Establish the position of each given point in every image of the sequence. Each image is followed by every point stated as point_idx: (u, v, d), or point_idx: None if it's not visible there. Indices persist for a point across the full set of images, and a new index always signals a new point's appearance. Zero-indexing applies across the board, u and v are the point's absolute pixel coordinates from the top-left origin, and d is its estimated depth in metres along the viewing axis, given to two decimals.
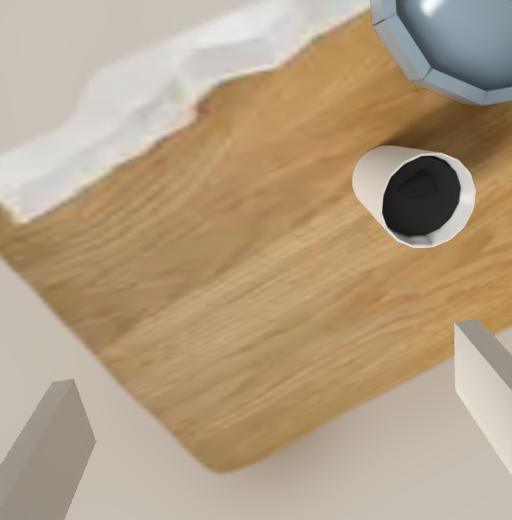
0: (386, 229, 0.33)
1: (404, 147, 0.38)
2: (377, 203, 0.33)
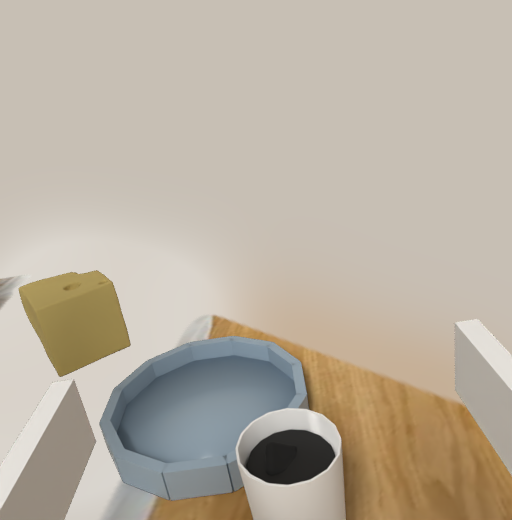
0: (288, 486, 0.27)
1: None
2: (261, 490, 0.28)
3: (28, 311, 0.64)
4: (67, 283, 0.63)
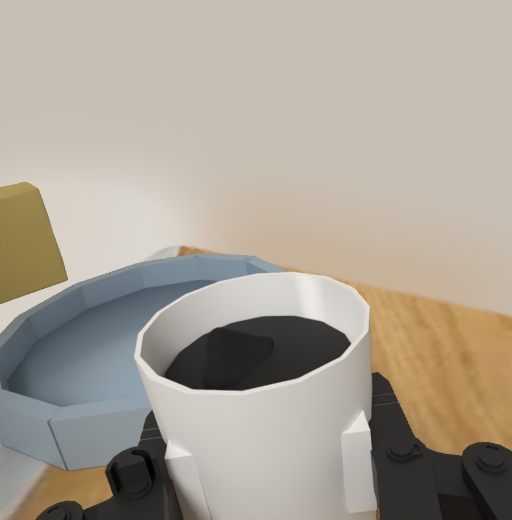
0: (243, 393, 0.11)
1: None
2: (180, 411, 0.11)
3: None
4: None
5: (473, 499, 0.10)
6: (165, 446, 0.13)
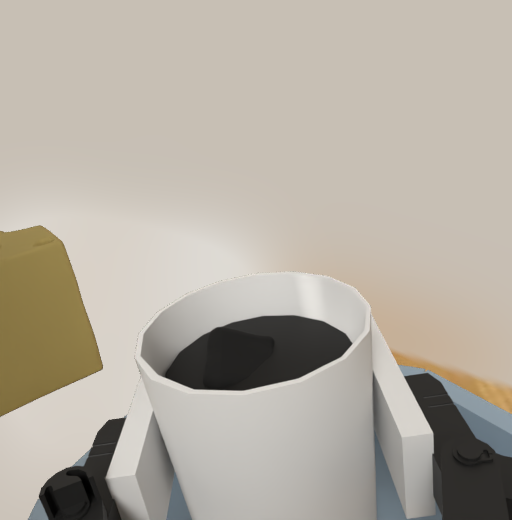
0: (244, 393, 0.10)
1: None
2: (180, 411, 0.11)
3: None
4: None
5: None
6: None
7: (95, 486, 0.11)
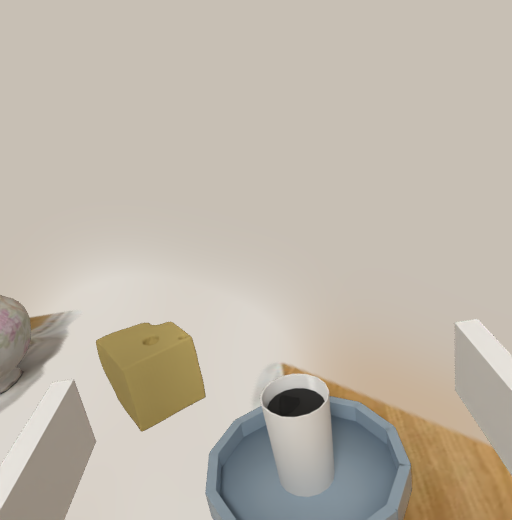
0: (295, 417, 0.43)
1: None
2: (277, 421, 0.44)
3: (105, 364, 0.65)
4: (145, 336, 0.64)
5: None
6: None
7: None
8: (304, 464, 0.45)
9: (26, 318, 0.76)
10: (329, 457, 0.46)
